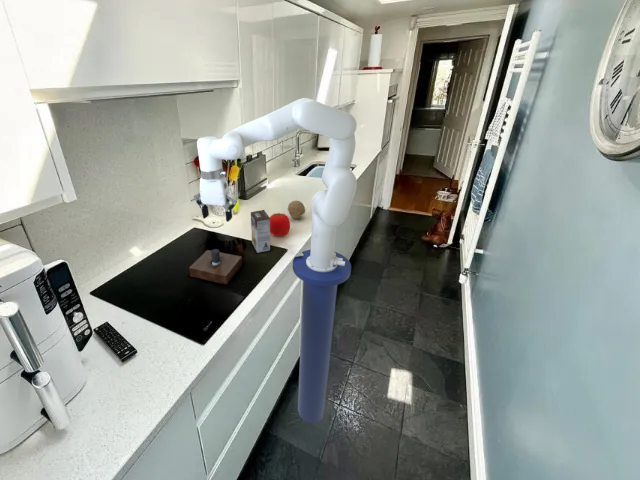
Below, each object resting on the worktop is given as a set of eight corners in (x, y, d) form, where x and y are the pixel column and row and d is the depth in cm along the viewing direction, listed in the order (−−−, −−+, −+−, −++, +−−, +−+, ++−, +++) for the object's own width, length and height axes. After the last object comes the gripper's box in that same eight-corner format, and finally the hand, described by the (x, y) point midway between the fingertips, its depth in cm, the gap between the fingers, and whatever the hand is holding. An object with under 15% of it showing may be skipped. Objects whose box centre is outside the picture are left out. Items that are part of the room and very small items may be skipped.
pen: (222, 269, 124) (220, 249, 120) (218, 273, 121) (216, 253, 117) (215, 267, 125) (213, 248, 121) (211, 271, 123) (209, 252, 119)
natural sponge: (297, 213, 170) (298, 196, 165) (308, 219, 163) (309, 201, 159) (284, 217, 165) (284, 200, 161) (295, 223, 159) (295, 205, 154)
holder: (242, 264, 126) (241, 256, 124) (226, 284, 115) (225, 275, 113) (208, 257, 132) (207, 249, 130) (190, 276, 120) (189, 267, 119)
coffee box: (251, 243, 142) (250, 211, 135) (264, 240, 143) (263, 209, 136) (257, 253, 134) (256, 220, 127) (271, 250, 136) (270, 217, 128)
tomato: (289, 240, 143) (289, 219, 138) (266, 238, 145) (266, 218, 140) (291, 230, 152) (291, 210, 148) (270, 228, 154) (269, 209, 150)
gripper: (239, 172, 106) (242, 217, 114) (196, 169, 112) (202, 211, 120) (229, 179, 100) (234, 225, 107) (184, 175, 106) (192, 220, 114)
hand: (217, 218), depth 114 cm, fingers open, 9 cm apart
